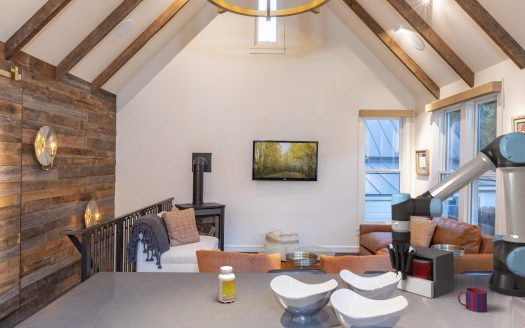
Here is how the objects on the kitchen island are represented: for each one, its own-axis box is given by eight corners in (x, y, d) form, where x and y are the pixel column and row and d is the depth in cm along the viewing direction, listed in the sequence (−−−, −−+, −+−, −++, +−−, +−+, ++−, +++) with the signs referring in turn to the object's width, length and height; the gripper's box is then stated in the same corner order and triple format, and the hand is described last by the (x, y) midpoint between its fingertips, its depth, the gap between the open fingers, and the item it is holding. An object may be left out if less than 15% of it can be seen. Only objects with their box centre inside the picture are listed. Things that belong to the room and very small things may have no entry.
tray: (450, 290, 156) (450, 275, 156) (430, 297, 147) (430, 282, 147) (416, 281, 168) (416, 268, 168) (397, 288, 159) (397, 273, 159)
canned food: (431, 289, 152) (431, 262, 152) (411, 286, 156) (410, 259, 156) (434, 284, 159) (434, 258, 159) (414, 281, 163) (414, 255, 163)
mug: (490, 312, 133) (490, 293, 133) (461, 312, 134) (461, 292, 134) (481, 305, 140) (481, 287, 140) (453, 305, 141) (453, 286, 141)
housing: (453, 290, 157) (453, 252, 157) (436, 297, 149) (435, 256, 149) (418, 281, 170) (418, 245, 170) (400, 287, 162) (399, 249, 162)
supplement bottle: (238, 300, 146) (238, 267, 146) (226, 305, 142) (225, 271, 142) (227, 296, 151) (227, 264, 151) (214, 301, 146) (214, 267, 146)
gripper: (382, 229, 159) (382, 285, 159) (410, 233, 149) (410, 293, 148) (392, 227, 164) (393, 281, 163) (420, 231, 153) (421, 289, 153)
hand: (401, 287), depth 156 cm, fingers closed
